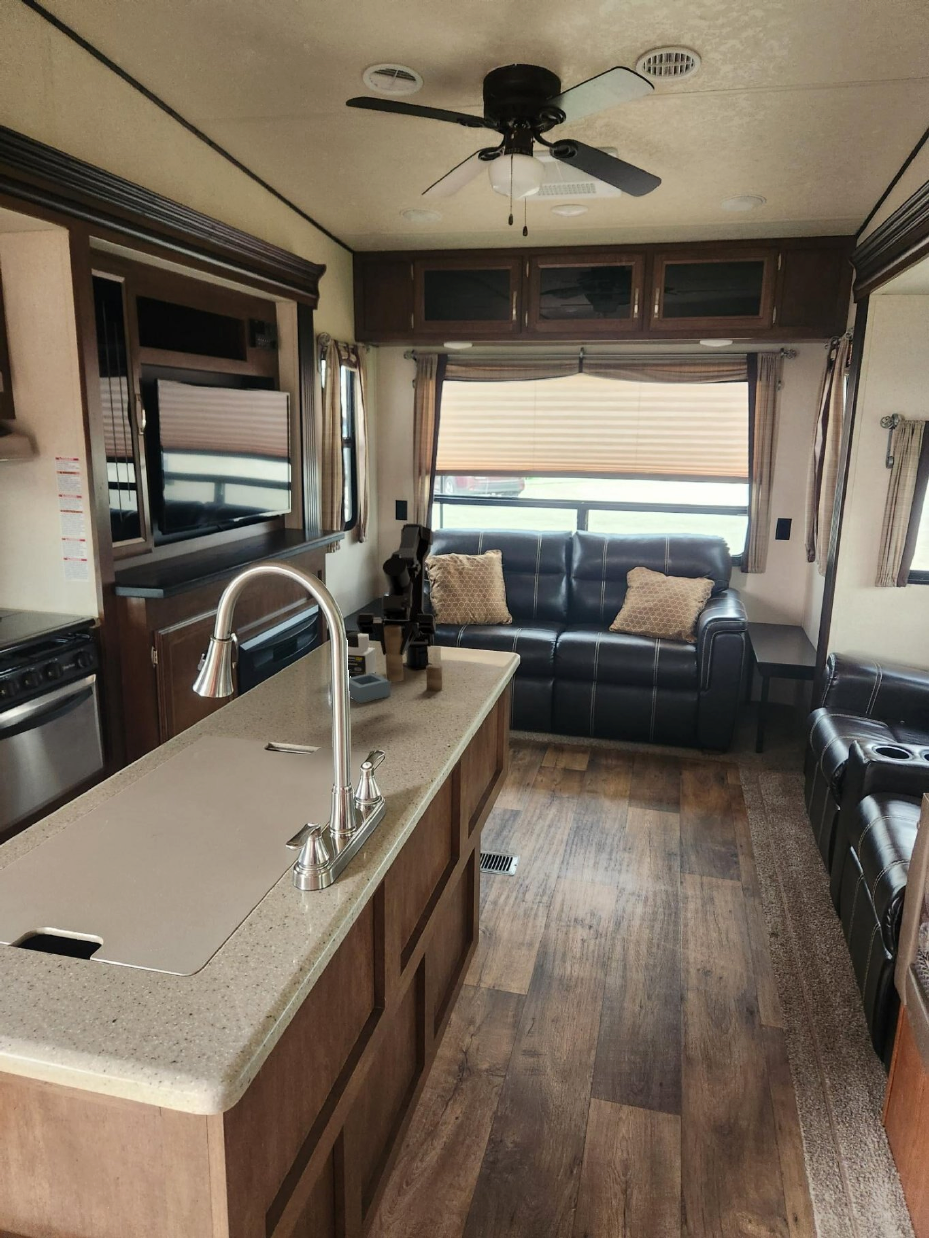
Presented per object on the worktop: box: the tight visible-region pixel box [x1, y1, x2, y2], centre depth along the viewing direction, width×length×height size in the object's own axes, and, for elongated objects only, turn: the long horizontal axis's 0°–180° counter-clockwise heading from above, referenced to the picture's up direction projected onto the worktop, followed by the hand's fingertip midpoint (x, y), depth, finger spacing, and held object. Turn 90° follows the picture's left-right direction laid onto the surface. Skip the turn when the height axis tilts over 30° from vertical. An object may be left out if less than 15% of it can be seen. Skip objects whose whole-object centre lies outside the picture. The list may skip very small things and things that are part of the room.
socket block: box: [349, 673, 392, 704], centre depth 210 cm, size 9×9×4 cm
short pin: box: [425, 664, 443, 692], centre depth 214 cm, size 4×4×6 cm
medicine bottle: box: [346, 630, 377, 678], centre depth 226 cm, size 7×7×12 cm
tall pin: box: [384, 625, 404, 682], centre depth 199 cm, size 4×4×13 cm
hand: (392, 654), depth 198 cm, fingers closed on tall pin, 4 cm apart
